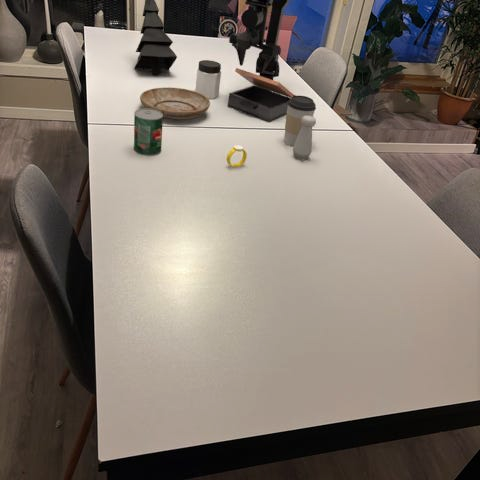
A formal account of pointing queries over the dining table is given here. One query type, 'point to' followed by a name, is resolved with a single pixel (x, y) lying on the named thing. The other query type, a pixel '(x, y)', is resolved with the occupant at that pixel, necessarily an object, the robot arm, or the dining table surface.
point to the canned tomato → (148, 132)
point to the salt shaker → (304, 138)
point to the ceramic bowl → (175, 102)
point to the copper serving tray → (265, 83)
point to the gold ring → (235, 148)
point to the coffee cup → (297, 116)
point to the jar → (208, 78)
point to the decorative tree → (154, 42)
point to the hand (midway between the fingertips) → (251, 69)
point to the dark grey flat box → (259, 103)
